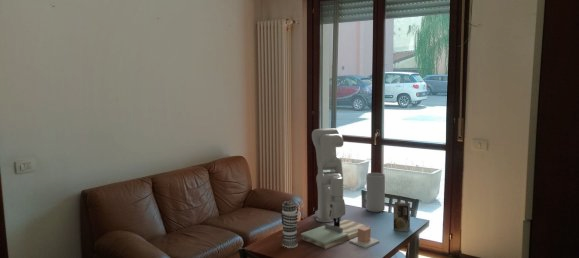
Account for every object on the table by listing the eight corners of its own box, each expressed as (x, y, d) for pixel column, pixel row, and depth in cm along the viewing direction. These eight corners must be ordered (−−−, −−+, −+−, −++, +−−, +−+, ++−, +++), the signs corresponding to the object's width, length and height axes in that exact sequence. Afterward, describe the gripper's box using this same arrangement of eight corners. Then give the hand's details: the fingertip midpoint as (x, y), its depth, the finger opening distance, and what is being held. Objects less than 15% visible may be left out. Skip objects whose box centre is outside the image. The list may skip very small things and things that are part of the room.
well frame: (301, 239, 243) (301, 235, 243) (346, 223, 269) (346, 219, 268) (325, 248, 229) (325, 244, 229) (370, 230, 254) (370, 226, 254)
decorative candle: (288, 240, 242) (287, 198, 239) (301, 244, 236) (300, 201, 233) (278, 245, 235) (277, 202, 232) (291, 249, 229) (290, 205, 226)
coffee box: (410, 228, 257) (410, 203, 255) (408, 232, 251) (408, 206, 249) (395, 226, 261) (395, 201, 259) (393, 230, 255) (393, 204, 253)
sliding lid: (300, 235, 242) (300, 229, 242) (323, 226, 255) (323, 221, 254) (324, 244, 228) (324, 238, 228) (347, 235, 240) (347, 229, 240)
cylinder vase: (384, 212, 288) (385, 177, 285) (366, 211, 290) (366, 176, 287) (384, 207, 300) (384, 172, 297) (366, 206, 302) (366, 172, 299)
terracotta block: (357, 240, 237) (357, 228, 237) (363, 238, 241) (363, 226, 240) (364, 242, 234) (364, 230, 233) (370, 240, 237) (370, 228, 236)
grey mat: (349, 242, 238) (349, 240, 238) (362, 236, 246) (362, 234, 246) (365, 248, 229) (365, 246, 229) (379, 242, 237) (379, 240, 237)
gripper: (333, 201, 238) (333, 232, 240) (349, 196, 248) (349, 225, 250) (323, 199, 243) (323, 229, 246) (340, 193, 253) (340, 222, 256)
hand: (336, 227), depth 248 cm, fingers closed
